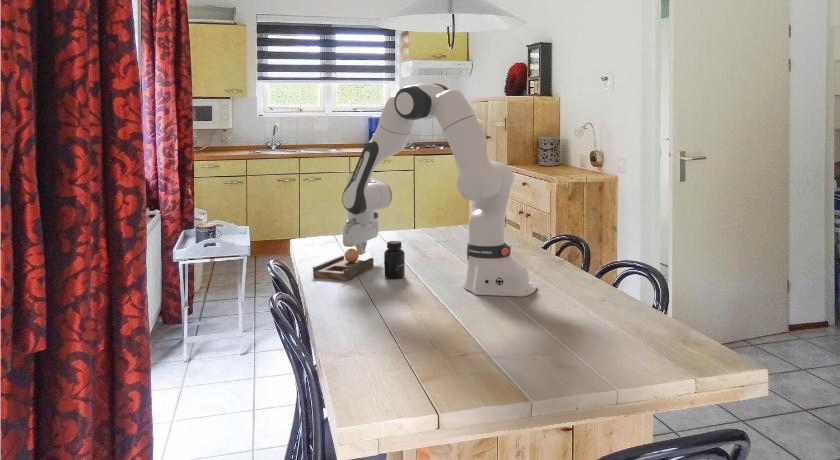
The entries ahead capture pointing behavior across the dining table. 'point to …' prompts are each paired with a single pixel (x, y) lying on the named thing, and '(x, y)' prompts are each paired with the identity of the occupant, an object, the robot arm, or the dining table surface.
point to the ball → (351, 255)
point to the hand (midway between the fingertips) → (361, 254)
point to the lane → (342, 269)
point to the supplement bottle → (394, 260)
